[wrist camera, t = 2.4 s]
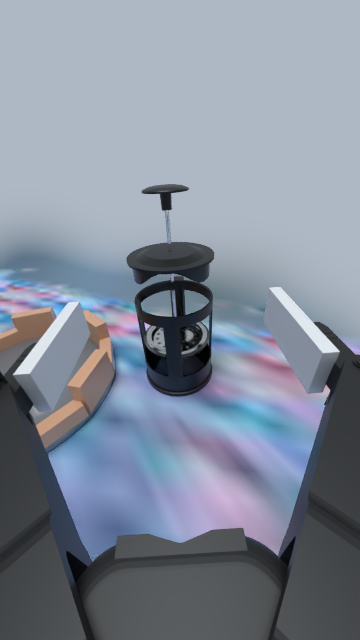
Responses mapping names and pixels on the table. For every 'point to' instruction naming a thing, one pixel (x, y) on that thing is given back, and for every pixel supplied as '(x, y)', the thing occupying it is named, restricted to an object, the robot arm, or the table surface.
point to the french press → (174, 306)
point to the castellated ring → (84, 382)
